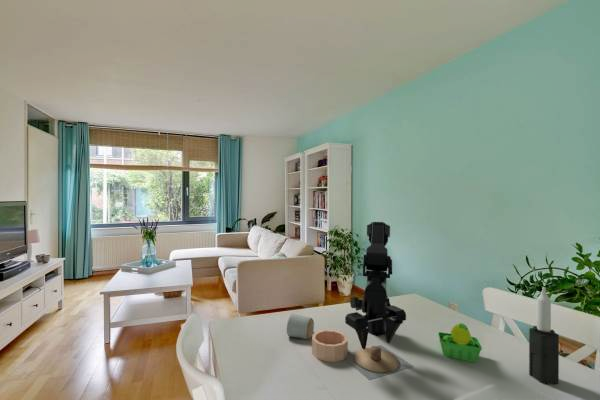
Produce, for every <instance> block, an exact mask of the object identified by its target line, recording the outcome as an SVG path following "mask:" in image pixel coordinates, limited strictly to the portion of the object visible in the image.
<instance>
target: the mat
mask: <svg viewBox="0 0 600 400" xmlns="http://www.w3.org/2000/svg"><path fill="white" fill-rule="evenodd" d="M377 346H378V347H380V348H381V349H382V350H385V351H388V352H390V353H392V354H393V355H395V356H396V357H397V359H398V361H399V366H398V368H397V369H396V370H394V371H392V372H388V373H376V372H371V371H368V370H365V369H363V368H361V367H360V366H358V365H357V364H356V363H355V361H354V354H355V352H356V351H357V350H355V351H352V352H348V355H347V356H346V357H345V358H344V360H345V361H346V362H347V363H348V364H349V365H351V366H352V367H354V369H356V370H357V371H358V372H359V373H360V374H362V376H364V377H365V378H366V379H367V380H368V381H370V380H371V381H372V380H375V379H377V378H381V377H384V376H388V375H391V374H394V373H397V372H401V371H404V370H407V369H410V368H413V367H414V366H415V365H413V364H411V362H408V361H407V360H405V359H404V358H402V357H401V356H399V355H397V353H395V352H394V351H393V352H392V351H391V350H390V349H388V348H386V347H385V346H383V345H382V344H380V345H377Z"/></svg>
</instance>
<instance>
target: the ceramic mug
mask: <svg viewBox="0 0 600 400" xmlns="http://www.w3.org/2000/svg"><path fill="white" fill-rule="evenodd" d="M314 328H315V322H314V319H313V318H312V317H310V316H306V315H303V314H298V313H294V312H293V313H291V314H290V315H289V317H288V320H287V324H286V335H287V336H288V337H291V338H295V339H296V338H297V339H303V340H309V339H312V335H313V334H314Z"/></svg>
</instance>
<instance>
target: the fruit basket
mask: <svg viewBox="0 0 600 400" xmlns="http://www.w3.org/2000/svg"><path fill="white" fill-rule="evenodd" d="M437 334H438V338H439V339H438V340H439V342H440V348H441V350H442V351H441V352H442V355H443V356H444V357H447V358H449V359H450V358H452V359H455V360H456V359H457V360H461V361H467V362H468V361H469V362H473V363H477V362H478V359H479V356H480V352H481V351H482V350H483V347H482V345H481V343H480V341H479V339H478V338H477V337H474V336H472V335H471V332H470V330H469V328H468V326H467V325H466V324H465V323H462V322H461V323H460V322H459V323H457V324H455V325H454V326H453V327H451V330H450V333H448V332H441V331H438V332H437Z"/></svg>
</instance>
